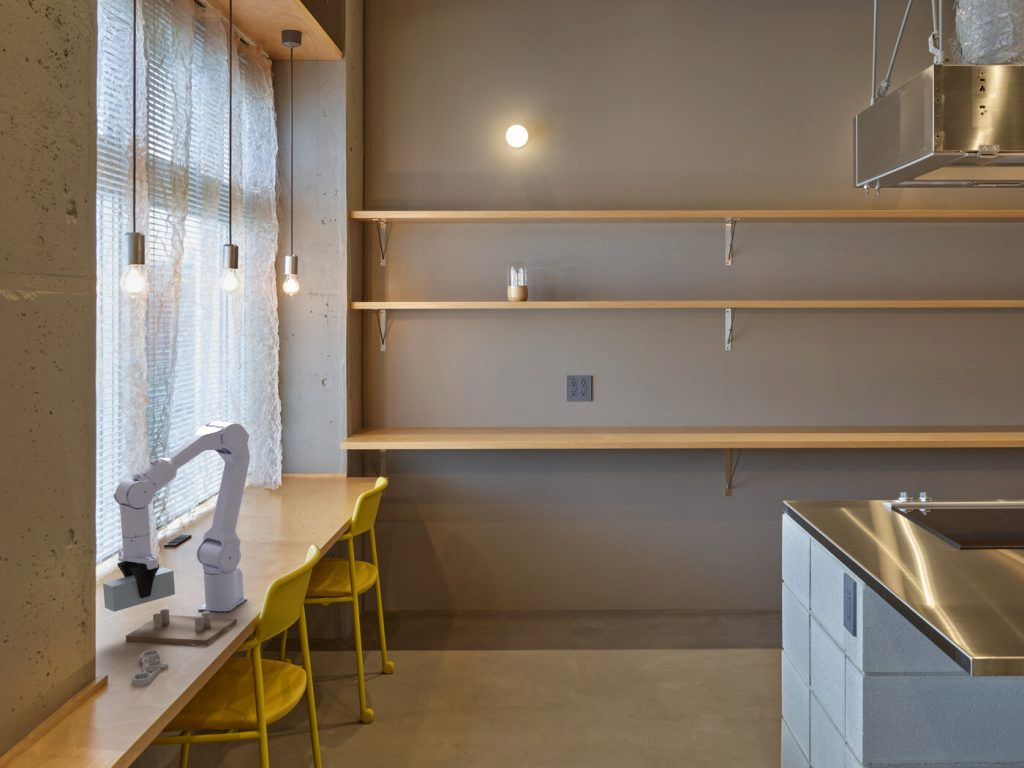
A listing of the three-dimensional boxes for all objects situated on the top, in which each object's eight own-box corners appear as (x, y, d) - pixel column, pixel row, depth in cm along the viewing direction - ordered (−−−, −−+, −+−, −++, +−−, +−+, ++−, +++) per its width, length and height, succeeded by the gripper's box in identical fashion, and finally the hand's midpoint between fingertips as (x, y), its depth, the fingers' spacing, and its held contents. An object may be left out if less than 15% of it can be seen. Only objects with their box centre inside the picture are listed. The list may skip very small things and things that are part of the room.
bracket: (111, 679, 173) (145, 647, 188) (111, 689, 174) (146, 656, 188) (149, 679, 173) (181, 647, 188) (150, 689, 173) (182, 656, 188)
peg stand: (160, 619, 209) (159, 601, 209) (236, 623, 205) (235, 605, 205) (126, 641, 196) (124, 622, 196) (206, 645, 193) (205, 626, 192)
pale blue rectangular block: (165, 590, 208) (163, 567, 208) (175, 594, 205) (173, 570, 205) (104, 607, 198) (103, 583, 197) (114, 611, 195) (112, 586, 194)
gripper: (103, 532, 202) (107, 592, 203) (133, 543, 192) (137, 606, 194) (134, 526, 207) (138, 584, 209) (165, 536, 197) (169, 597, 199)
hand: (140, 594), depth 201 cm, fingers closed on pale blue rectangular block, 4 cm apart
